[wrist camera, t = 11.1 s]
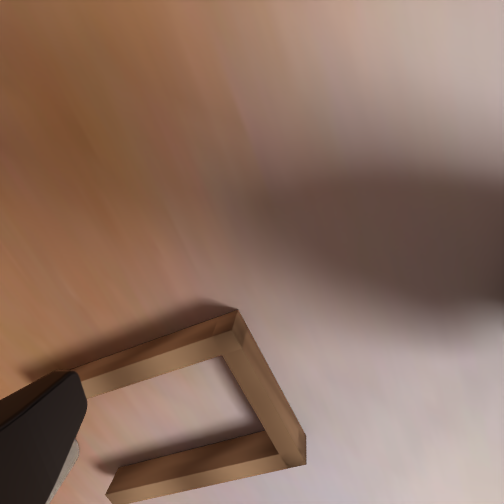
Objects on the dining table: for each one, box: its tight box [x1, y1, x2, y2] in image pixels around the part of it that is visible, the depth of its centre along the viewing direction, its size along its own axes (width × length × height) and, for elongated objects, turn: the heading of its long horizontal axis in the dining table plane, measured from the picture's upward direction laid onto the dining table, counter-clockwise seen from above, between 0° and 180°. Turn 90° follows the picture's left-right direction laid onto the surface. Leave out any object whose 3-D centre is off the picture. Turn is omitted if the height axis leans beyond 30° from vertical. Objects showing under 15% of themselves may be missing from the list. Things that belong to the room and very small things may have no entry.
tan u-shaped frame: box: [71, 310, 306, 504], centre depth 23 cm, size 14×10×2 cm
